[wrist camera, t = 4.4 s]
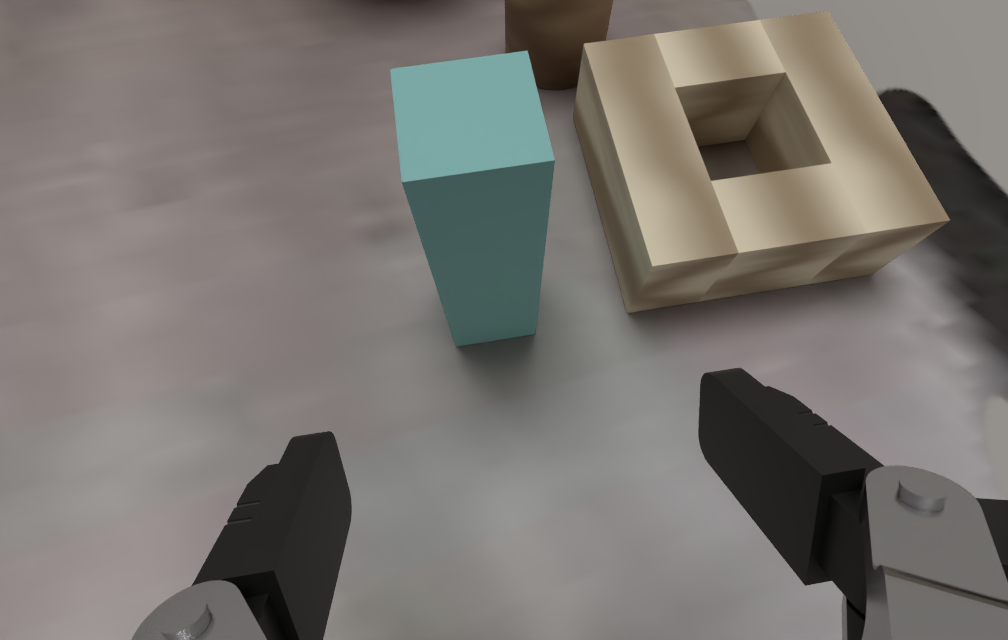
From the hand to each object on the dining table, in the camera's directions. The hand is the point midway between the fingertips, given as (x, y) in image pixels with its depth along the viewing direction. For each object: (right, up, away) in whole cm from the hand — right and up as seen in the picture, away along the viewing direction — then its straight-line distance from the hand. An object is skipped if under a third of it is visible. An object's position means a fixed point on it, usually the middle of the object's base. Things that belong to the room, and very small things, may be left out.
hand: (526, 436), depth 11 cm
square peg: (-1, +3, +15) cm, 15 cm away
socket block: (+11, +10, +17) cm, 23 cm away
